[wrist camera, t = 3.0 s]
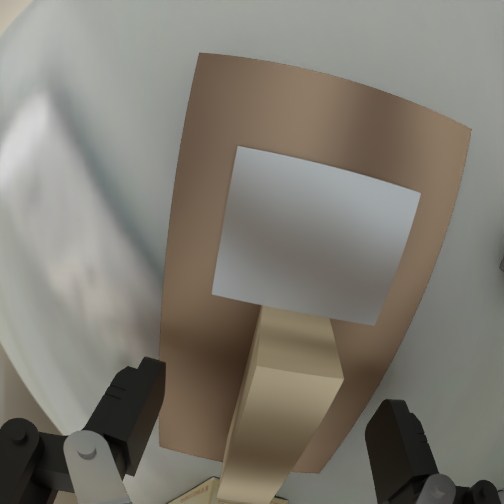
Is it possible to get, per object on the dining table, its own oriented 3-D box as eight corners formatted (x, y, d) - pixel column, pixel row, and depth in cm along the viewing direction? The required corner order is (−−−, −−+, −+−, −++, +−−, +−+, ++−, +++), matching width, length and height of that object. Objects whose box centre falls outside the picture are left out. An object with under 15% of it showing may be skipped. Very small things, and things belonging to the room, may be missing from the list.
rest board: (460, 129, 9) (471, 128, 9) (318, 463, 16) (318, 473, 16) (204, 58, 9) (199, 52, 9) (163, 437, 16) (159, 446, 16)
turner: (240, 145, 10) (217, 147, 6) (411, 189, 10) (473, 217, 6) (194, 429, 15) (177, 488, 11) (303, 447, 14) (304, 507, 11)
